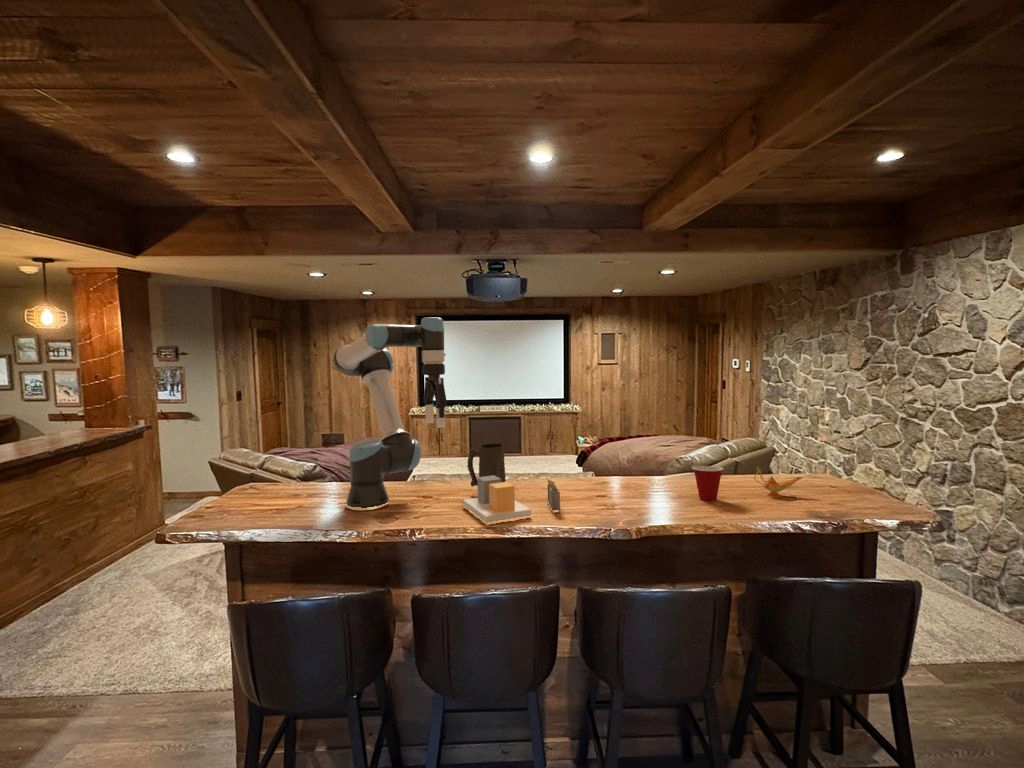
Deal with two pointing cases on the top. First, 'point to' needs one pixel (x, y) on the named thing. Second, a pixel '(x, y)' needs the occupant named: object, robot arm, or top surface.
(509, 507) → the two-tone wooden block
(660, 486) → the top surface
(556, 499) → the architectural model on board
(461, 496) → the top surface
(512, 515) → the assembly base with peg
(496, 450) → the beer stein
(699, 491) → the plastic cup
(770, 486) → the magic lamp
